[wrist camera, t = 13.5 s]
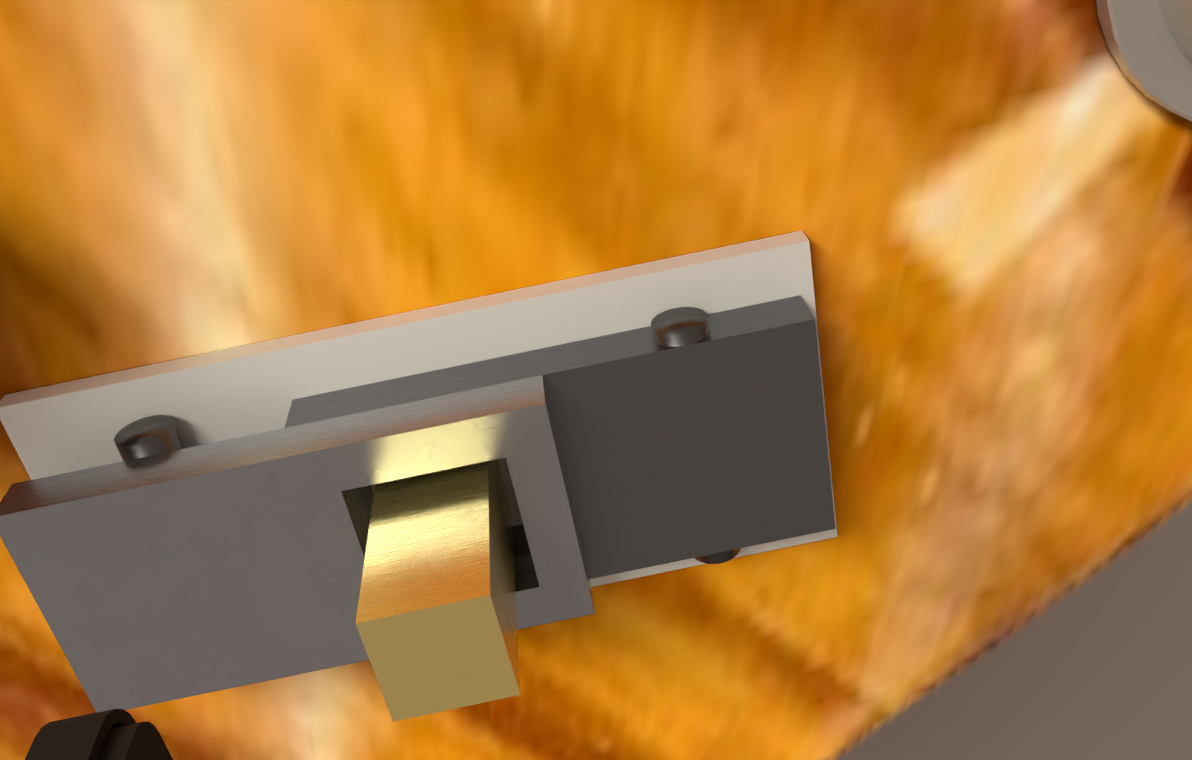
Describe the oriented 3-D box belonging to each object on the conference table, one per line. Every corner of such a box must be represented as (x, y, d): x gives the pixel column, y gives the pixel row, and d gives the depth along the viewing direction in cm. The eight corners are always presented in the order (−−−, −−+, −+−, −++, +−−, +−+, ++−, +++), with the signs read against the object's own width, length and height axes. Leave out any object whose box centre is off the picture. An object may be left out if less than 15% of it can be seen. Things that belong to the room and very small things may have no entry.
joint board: (801, 230, 40) (809, 240, 39) (830, 522, 46) (837, 536, 46) (5, 394, 40) (-6, 408, 39) (140, 663, 47) (134, 680, 46)
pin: (487, 421, 42) (490, 595, 33) (511, 508, 43) (520, 694, 35) (380, 443, 42) (355, 623, 33) (409, 529, 43) (393, 721, 35)
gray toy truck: (799, 282, 40) (830, 331, 37) (822, 509, 45) (851, 571, 41) (26, 441, 40) (-17, 505, 37) (132, 650, 45) (103, 725, 41)
